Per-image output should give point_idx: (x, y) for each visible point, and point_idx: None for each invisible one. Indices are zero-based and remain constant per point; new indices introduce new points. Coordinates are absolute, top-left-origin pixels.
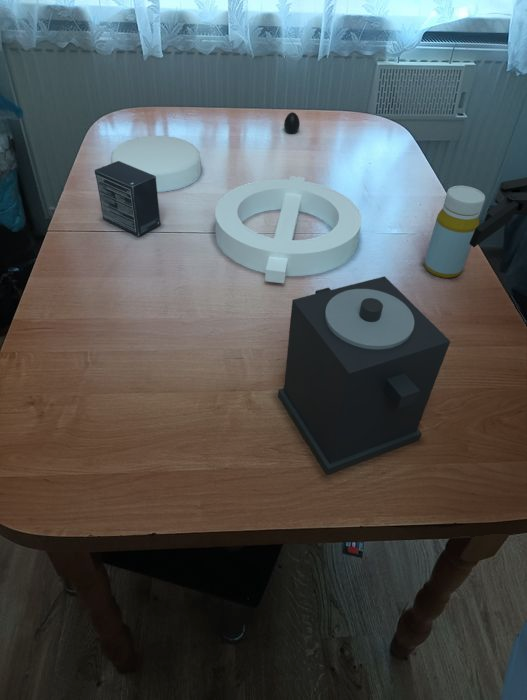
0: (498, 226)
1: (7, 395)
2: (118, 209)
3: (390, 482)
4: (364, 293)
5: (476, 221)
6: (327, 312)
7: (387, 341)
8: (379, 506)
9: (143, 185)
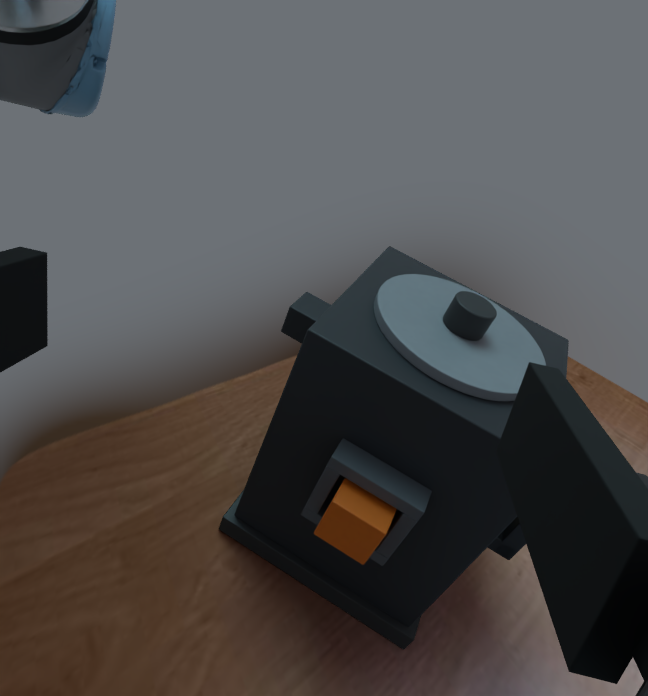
0: (543, 519)
1: (601, 376)
2: None
3: (227, 435)
4: (521, 374)
5: None
6: (508, 315)
7: (394, 284)
8: (225, 400)
9: None
